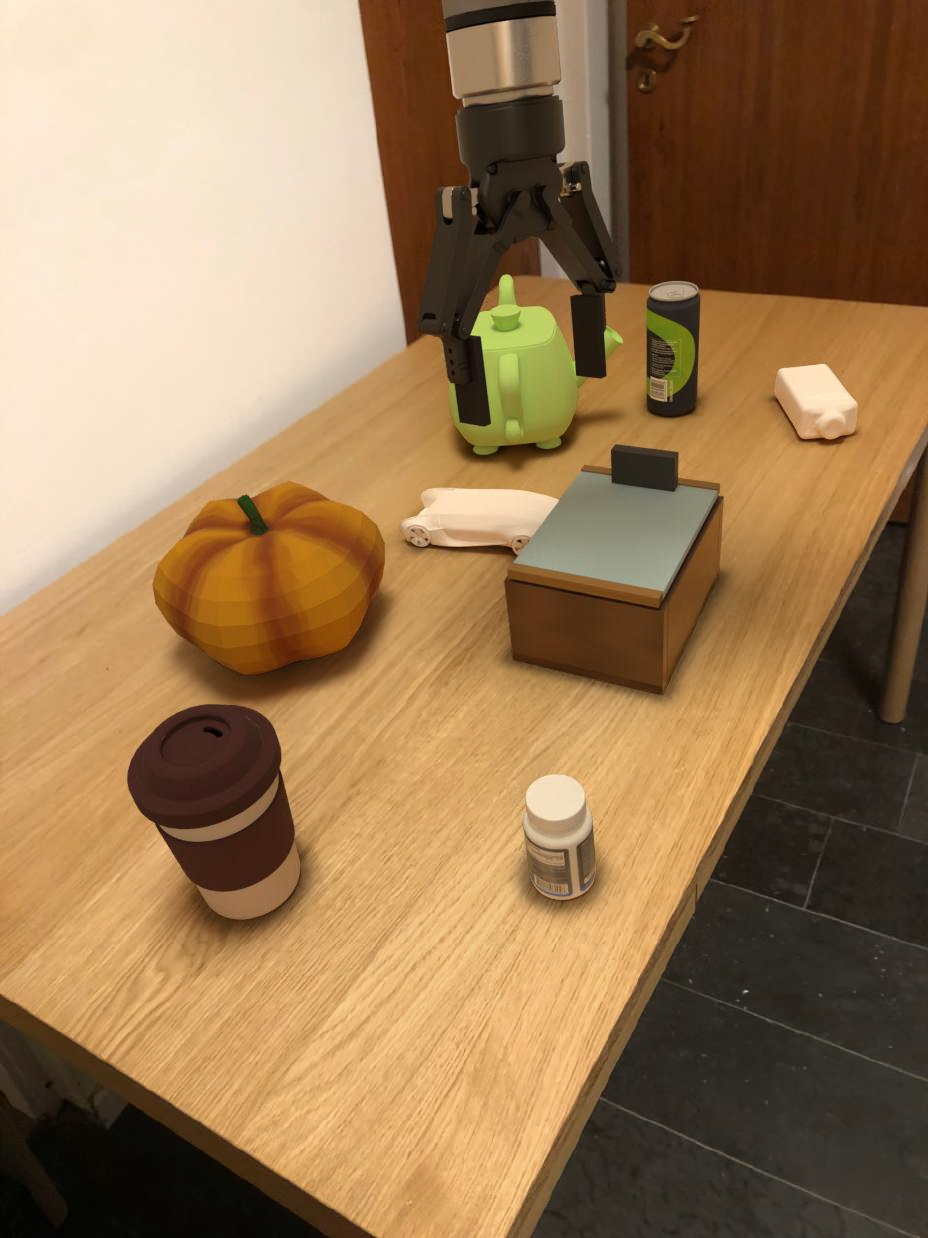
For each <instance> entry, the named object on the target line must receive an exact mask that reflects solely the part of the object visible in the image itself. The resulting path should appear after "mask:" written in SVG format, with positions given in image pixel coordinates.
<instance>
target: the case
mask: <svg viewBox="0 0 928 1238" xmlns="http://www.w3.org/2000/svg"><path fill="white" fill-rule="evenodd" d="M724 503H725V496H723V495H720V494H719V495H718V497H717V499H716V501H715V502H714V504H713V506H712V508H711V510H710V512H709V514H708V516H707V518H706V519H705V521H704V523H703V525H702V527H701V529H700V531H699V533H698V535H697V536H696V538H695V540H694V542H693V544H692V546H691V548H690V550H689V552H688V553H687V555H686V557H685V559H684V561H683V563H682V565H681V567H680V569H679V570H678V572H677V574H676V576H675V578H674V580H673V582H672V584H671V586H670V588H669V589H668V591H667V593H666V595H665V597H664V599H663V601H662V603H661V605H660V607H659V608H656V607H651V606H646V605H641V604H636V603H631V602H626V601H621V600H616V599H611V598H606V597H601V596H596V595H591V594H586V593H581V592H576V591H571V590H566V589H561V588H556V587H551V586H545V585H540V584H535V583H530V582H525V581H520V580H515V579H510V578H508V575H507V576H506V577H505V578H504V580H503V583H504V584H503V585H504V593H505V601H506V610H507V611H506V612H507V620H508V627H509V635H510V638H509V639H510V645H511V655H512V660H514V661H517V662H522V663H526V664H529V665H534V666H539V667H542V668H547V669H551V670H555V671H559V672H564V673H568V674H573V675H577V676H580V677H581V676H582V677H584V678H590V679H593V680H596V681H597V680H598V681H602V682H605V683H606V682H607V683H611V684H615V685H618V686H623V687H628V688H632V689H636V690H640V691H644V692H649V693H652V694H657V695H661V696H663V695H664V692H665V690H666V689H667V687H668V684H669V682H670V680H671V677H672V676H673V674H674V671H675V670H676V667H677V665H678V664H679V661H680V659H681V657H682V655H683V653H684V650H685V649H686V646H687V645H688V642H689V640H690V638H691V636H692V633H693V632H694V629H695V627H696V625H697V623H698V621H699V620H700V617H701V615H702V612H703V611H704V609H705V606H706V604H707V602H708V600H709V598H710V597H711V596H710V595H711V594H712V591H713V590H714V588H715V585H716V584H717V581H718V579H719V577H720V571H721V554H722V536H723V521H724V520H723V519H724Z"/></svg>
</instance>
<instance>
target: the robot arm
mask: <svg viewBox="0 0 928 1238" xmlns="http://www.w3.org/2000/svg"><path fill="white" fill-rule="evenodd" d="M441 6H442V7H441V8H442V12H443V13H442V14H443V20H444V25H445V39H446V45H447V55H448V64H449V72H450V80H451V89H452V96H453V97H454V98H455V99H456V100H462V105H463V108H461V109H457V114H455V115H454V116H455V125H456V133H457V134H456V135H457V142H458V151H459V159H460V161H461V163H462V164H463V165H464V166H466V168H467V170H468V173H469V180H468V186H467V185H457V186H456V185H455V186H454V185H453V186H442V187H441V186H440V187H438V188H437V189H436V190H435V192H434V203H435V205H434V206H435V207H434V208H435V221H436V222H435V227H434V233H433V237H432V243H431V248H430V254H429V259H428V264H427V270H426V274H425V280H424V284H423V290H422V295H421V299H420V305H419V309H418V315H417V320H416V330H417V332H418V333H419V334H420V335H426V336H432V337H434V338H439V339H440V340H441V342H442V346H443V347H442V348H443V354H444V362H445V369H446V376H447V378H448V382H449V381H450V383H454V385H455V392H456V399H457V407H458V414H459V422H460V423H466V424H471V425H477V426H482V427H485V426H488V425H490V424H491V418H490V409H489V401H488V392H487V384H486V376H485V367H484V359H483V350H482V342H481V336H474V335H471V332H472V330H473V327H474V325H475V322H476V320H477V317H478V314H479V312H481V309H482V307H483V304H484V302H485V299H486V297H487V295H488V292H489V289H490V286H491V285H492V282H493V279H494V277H495V274H496V271H497V269H498V266H499V264H500V261H501V259H502V257H503V255H504V254H506V253H508V252H509V250H510V249H511V246H512V245H513V244H519V243H523V242H525V241H527V240H528V239H535V238H536V239H537V238H538V239H539V240H540V241H541V242H542V244H543V245H544V247H545V248H546V249H547V250H548V252H549V253H550V254H551V257H553V258H554V260H555V261H556V263H557V264H558V266H559V267H560V268H561V270H562V271H563V272H564V274H565V275H566V277H568V279H569V280H570V282H571V283H572V285H573V286H574V287H575V288H576V290H577V291H578V292H579V293H581V294H577V293H576V294H573V295H570V296H569V301H570V314H571V326H572V327H571V328H572V340H573V353H574V360H575V369H576V376H582V377H589V378H591V379H598V380H599V379H600V380H601V379H604V378H606V377H607V360H606V356H605V339H604V332H605V331H606V326H607V313H606V312H607V310H606V308H607V307H606V294H614V292H615V291H616V289H617V281H620V279H621V278H622V276H623V266H622V265H621V262H620V259H619V255H618V254H617V251H616V248H615V245H614V243H613V240H612V238H611V235H610V233H609V231H608V228H607V225H606V222H605V219H604V217H603V215H602V212H601V210H600V207H599V205H598V202H597V200H596V197H595V194H594V191H593V185H592V178H591V177H592V176H591V169H590V165H589V163H588V161H586V160H579V161H576V160H575V161H565V162H558V158H557V156H558V155H559V154H561V153H562V152H563V151H564V150H565V147H566V131H565V117H564V116H565V115H564V102H563V99H560V95H559V94H557V95H556V94H555V92H554V91H555V90H554V86H557V85H560V82H561V81H562V67H561V57H560V56H561V55H560V43H559V33H558V32H559V31H558V22H557V21H558V18H557V5H556V1H555V0H441ZM473 217H474V218H473ZM602 262H603V263H602Z"/></svg>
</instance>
